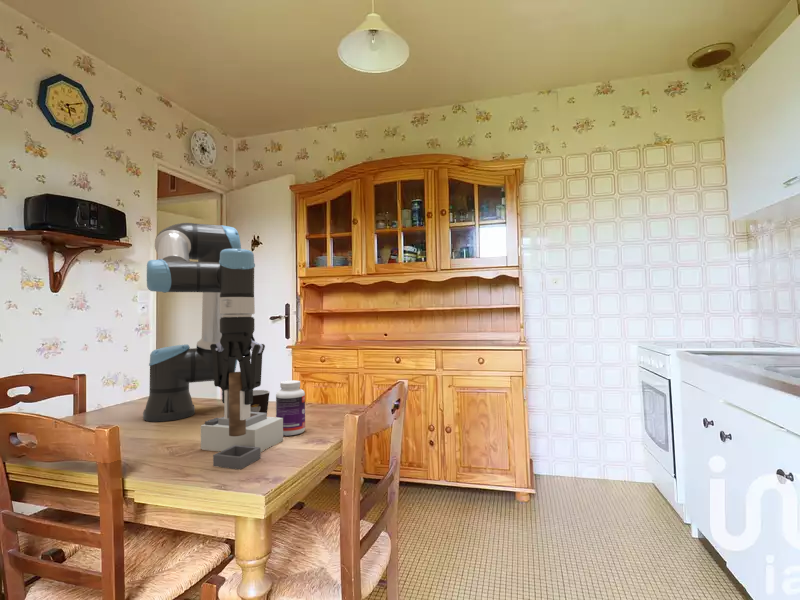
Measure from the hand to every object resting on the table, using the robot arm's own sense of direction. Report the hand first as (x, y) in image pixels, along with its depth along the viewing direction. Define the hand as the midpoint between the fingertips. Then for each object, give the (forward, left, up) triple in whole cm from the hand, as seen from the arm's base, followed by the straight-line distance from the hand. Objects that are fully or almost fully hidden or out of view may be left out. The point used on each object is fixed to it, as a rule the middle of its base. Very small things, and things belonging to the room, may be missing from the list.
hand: (237, 417), depth 96 cm
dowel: (0, 0, -4) cm, 4 cm away
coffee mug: (-17, +27, -10) cm, 34 cm away
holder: (0, 0, -10) cm, 10 cm away
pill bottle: (-1, +24, -10) cm, 26 cm away
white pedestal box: (-7, +11, -10) cm, 17 cm away
